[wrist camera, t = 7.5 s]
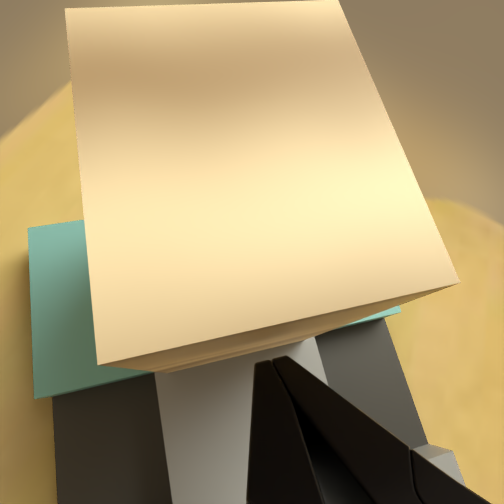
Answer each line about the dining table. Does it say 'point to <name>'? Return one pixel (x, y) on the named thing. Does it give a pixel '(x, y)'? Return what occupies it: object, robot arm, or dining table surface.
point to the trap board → (216, 422)
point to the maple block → (238, 181)
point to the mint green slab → (72, 314)
